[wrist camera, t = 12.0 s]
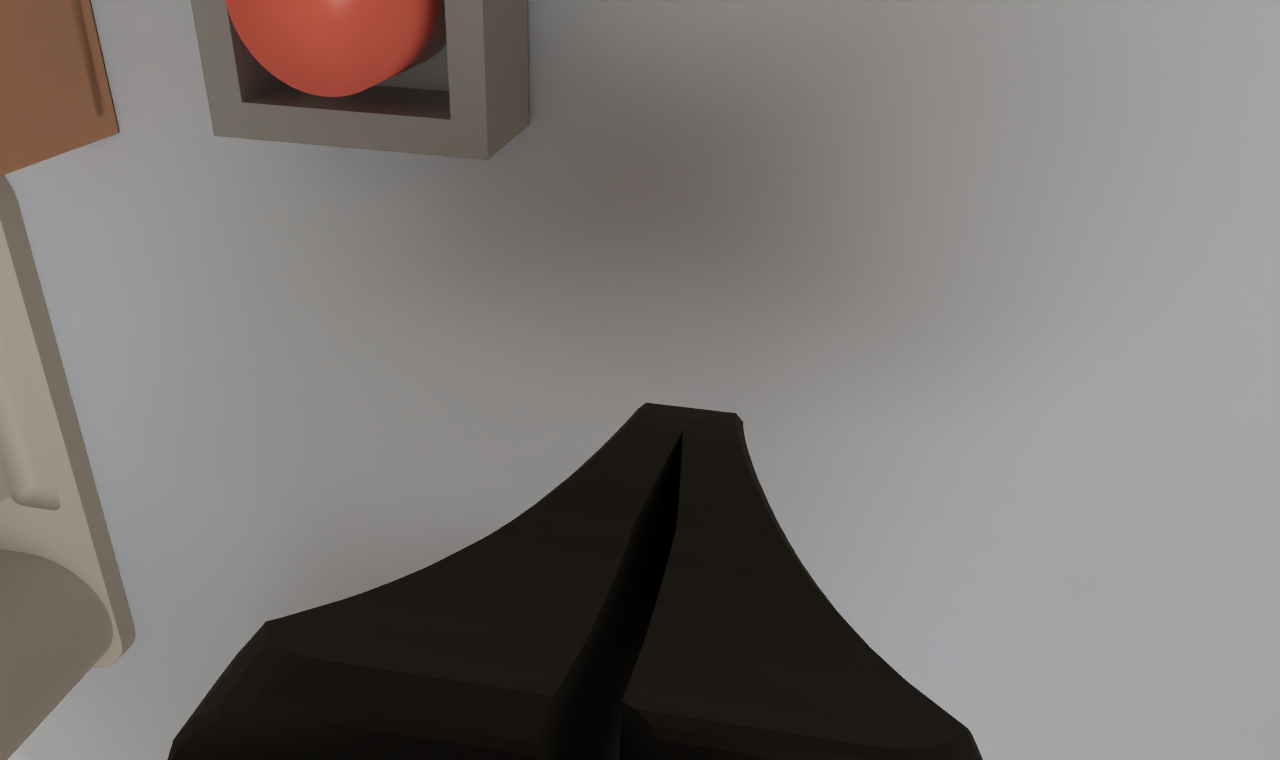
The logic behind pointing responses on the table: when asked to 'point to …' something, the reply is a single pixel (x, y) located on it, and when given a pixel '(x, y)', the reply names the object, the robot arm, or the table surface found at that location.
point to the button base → (383, 89)
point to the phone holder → (45, 513)
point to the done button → (339, 40)
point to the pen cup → (50, 81)
